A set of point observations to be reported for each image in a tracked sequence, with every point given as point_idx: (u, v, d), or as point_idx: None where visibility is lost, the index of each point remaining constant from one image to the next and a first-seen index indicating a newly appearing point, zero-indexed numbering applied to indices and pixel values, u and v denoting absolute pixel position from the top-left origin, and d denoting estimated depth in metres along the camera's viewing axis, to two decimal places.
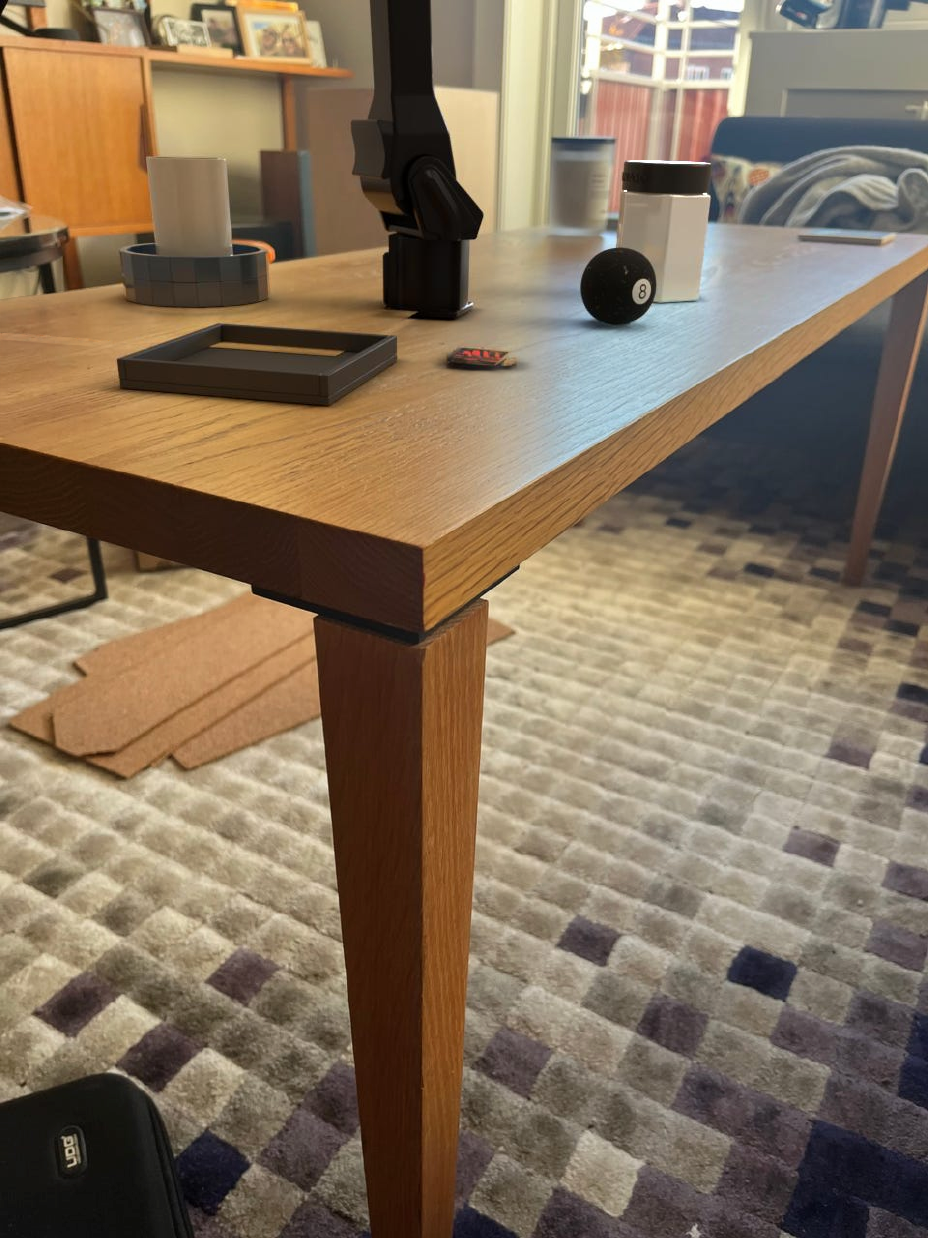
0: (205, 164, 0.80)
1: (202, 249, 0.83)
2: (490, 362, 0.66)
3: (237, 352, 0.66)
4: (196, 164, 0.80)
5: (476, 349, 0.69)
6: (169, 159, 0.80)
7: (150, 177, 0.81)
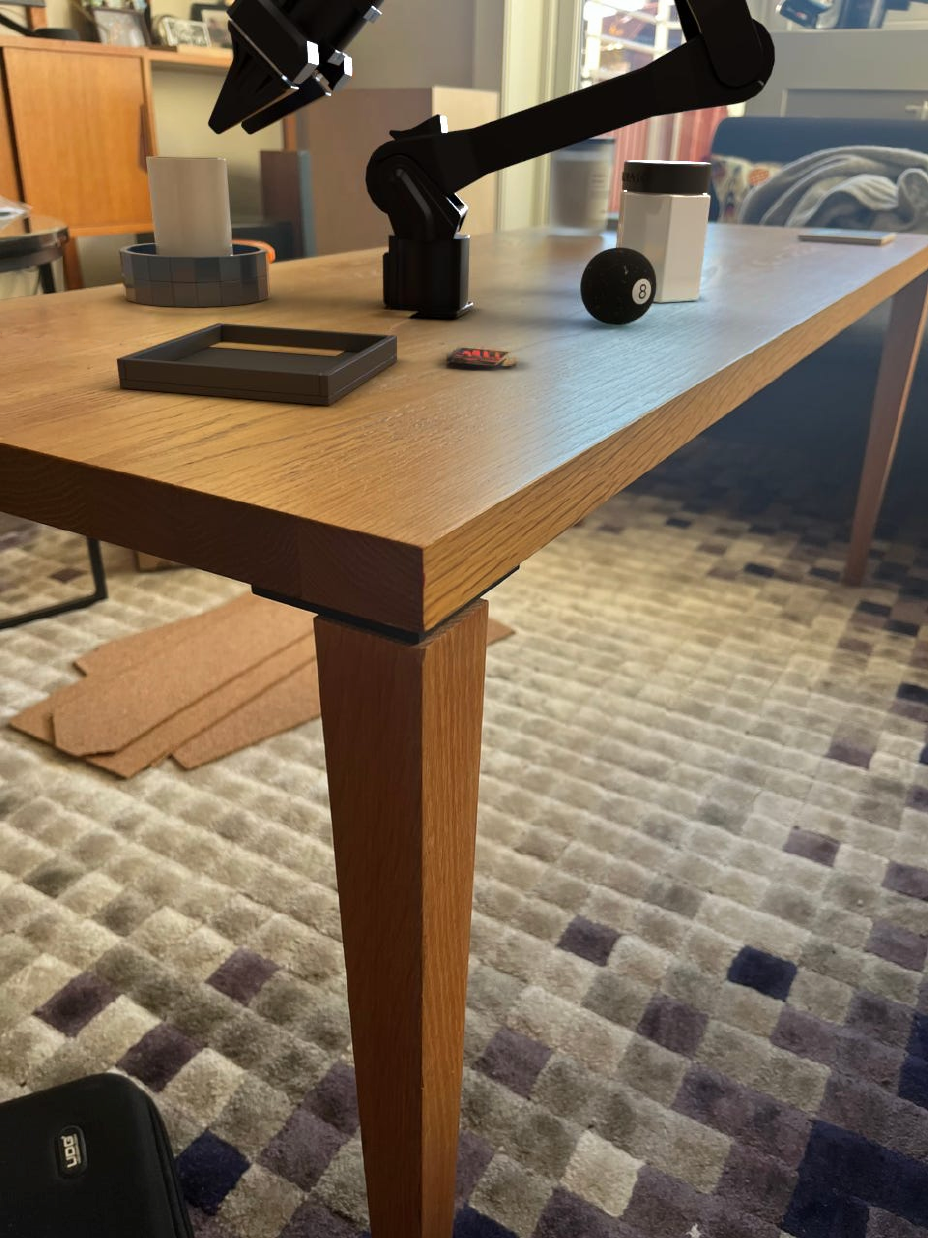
0: (205, 164, 0.80)
1: (202, 249, 0.83)
2: (490, 362, 0.66)
3: (237, 352, 0.66)
4: (196, 164, 0.80)
5: (476, 349, 0.69)
6: (169, 159, 0.80)
7: (150, 177, 0.81)
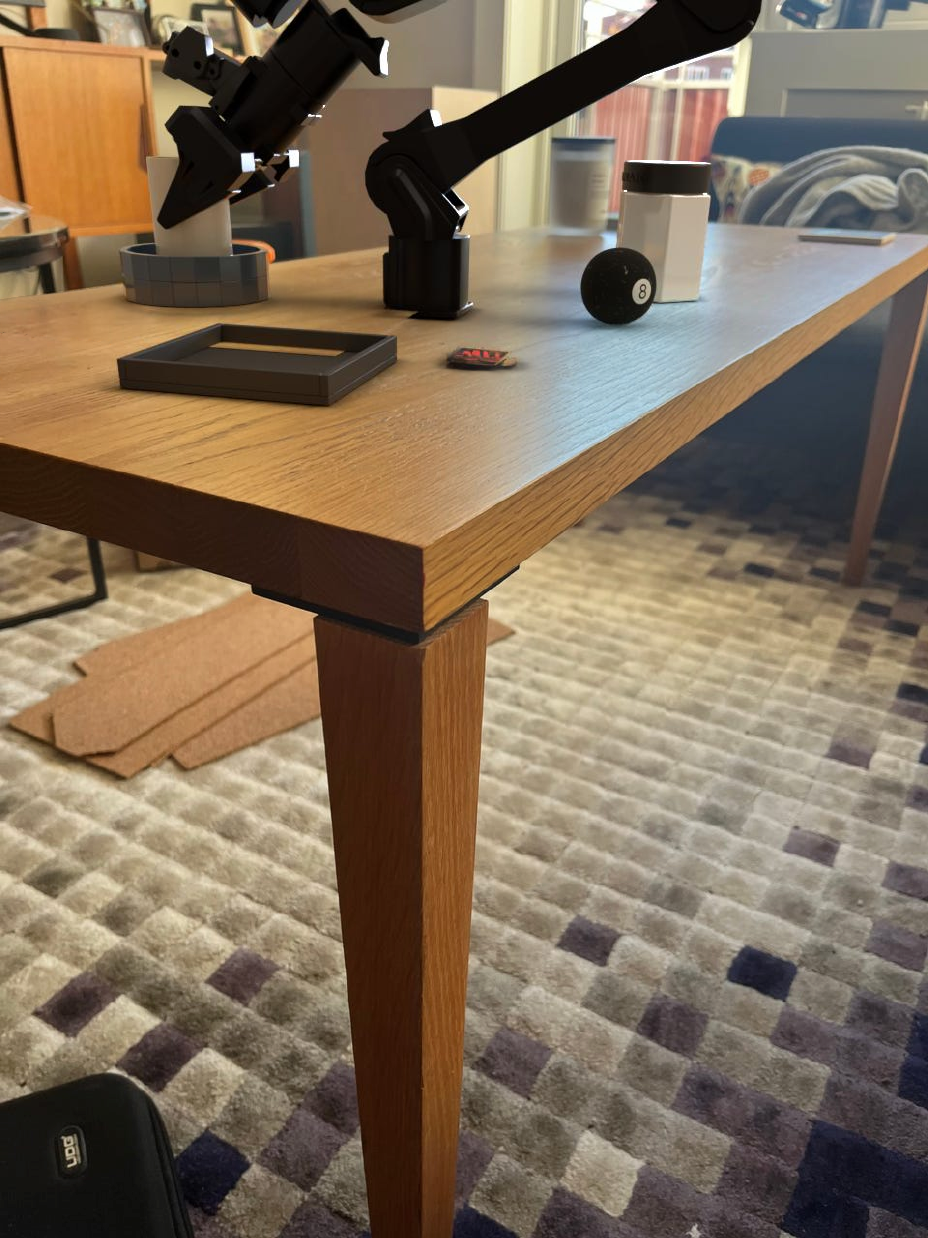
0: None
1: (202, 249, 0.83)
2: (490, 362, 0.66)
3: (237, 352, 0.66)
4: None
5: (476, 349, 0.69)
6: (169, 159, 0.80)
7: (150, 177, 0.81)
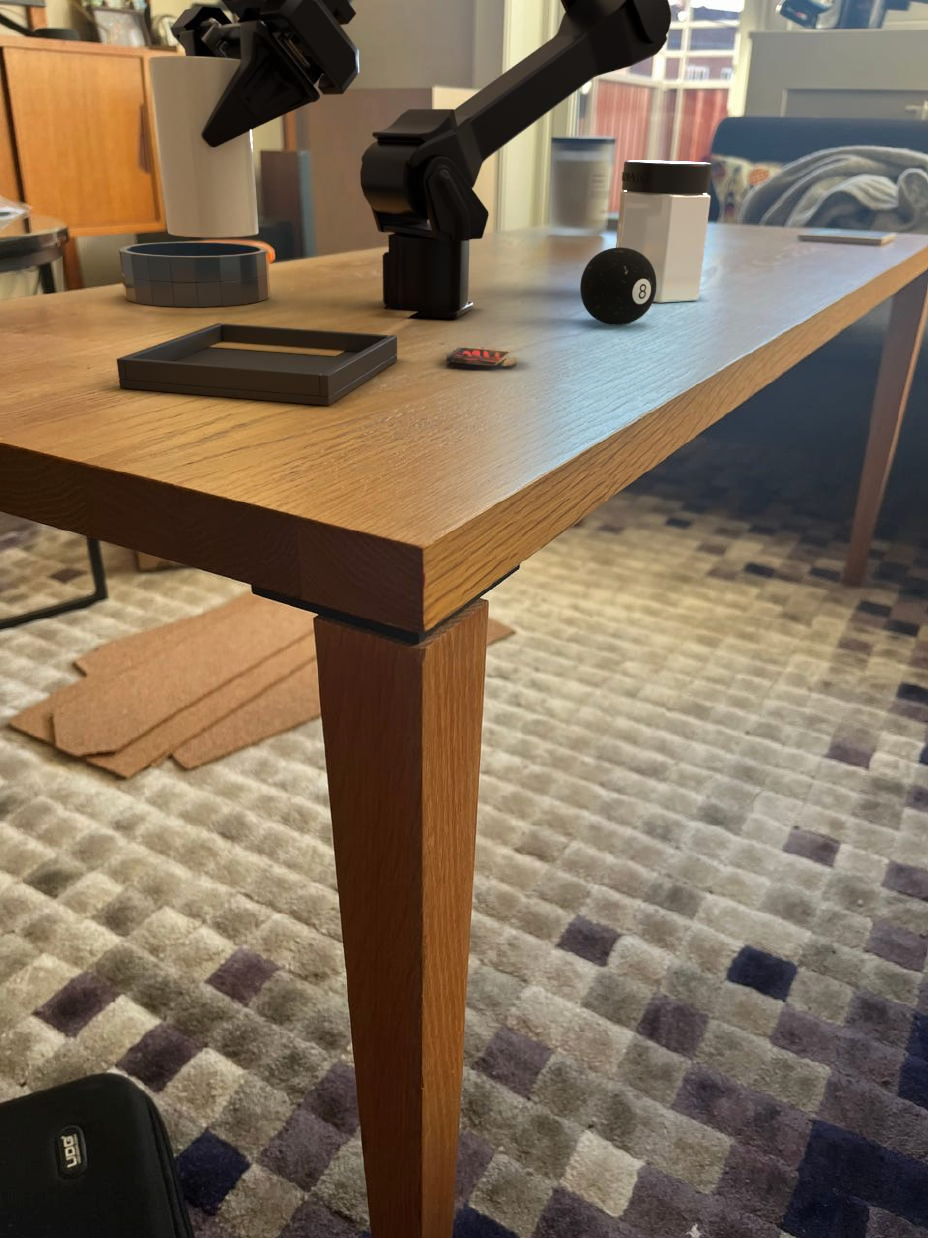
0: None
1: (246, 172, 0.69)
2: (490, 362, 0.66)
3: (237, 352, 0.66)
4: None
5: (476, 349, 0.69)
6: (214, 59, 0.65)
7: (178, 82, 0.65)
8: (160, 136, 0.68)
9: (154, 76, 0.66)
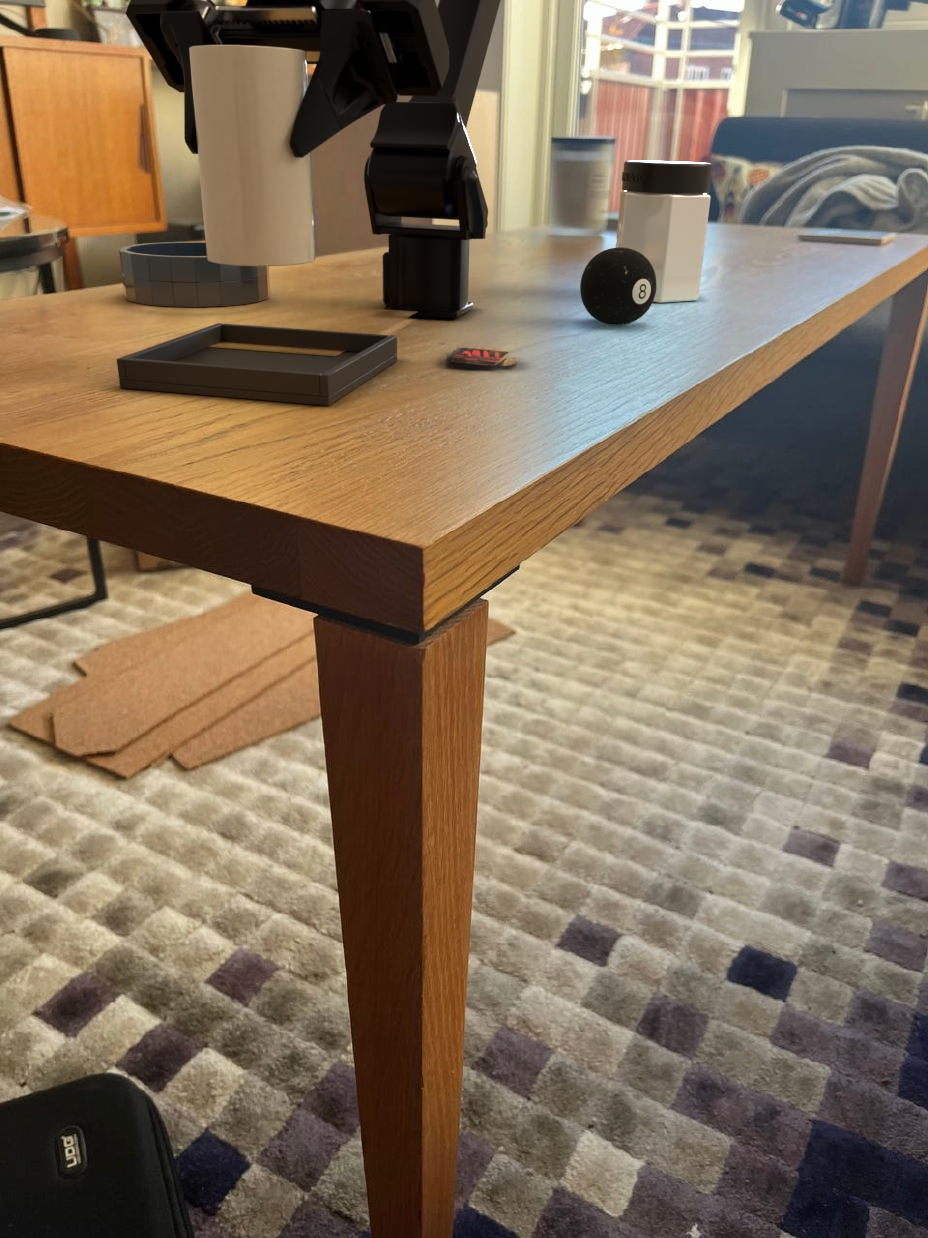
0: None
1: None
2: (490, 362, 0.66)
3: (237, 352, 0.66)
4: None
5: (476, 349, 0.69)
6: (296, 51, 0.54)
7: (260, 78, 0.53)
8: (221, 144, 0.55)
9: (216, 69, 0.53)
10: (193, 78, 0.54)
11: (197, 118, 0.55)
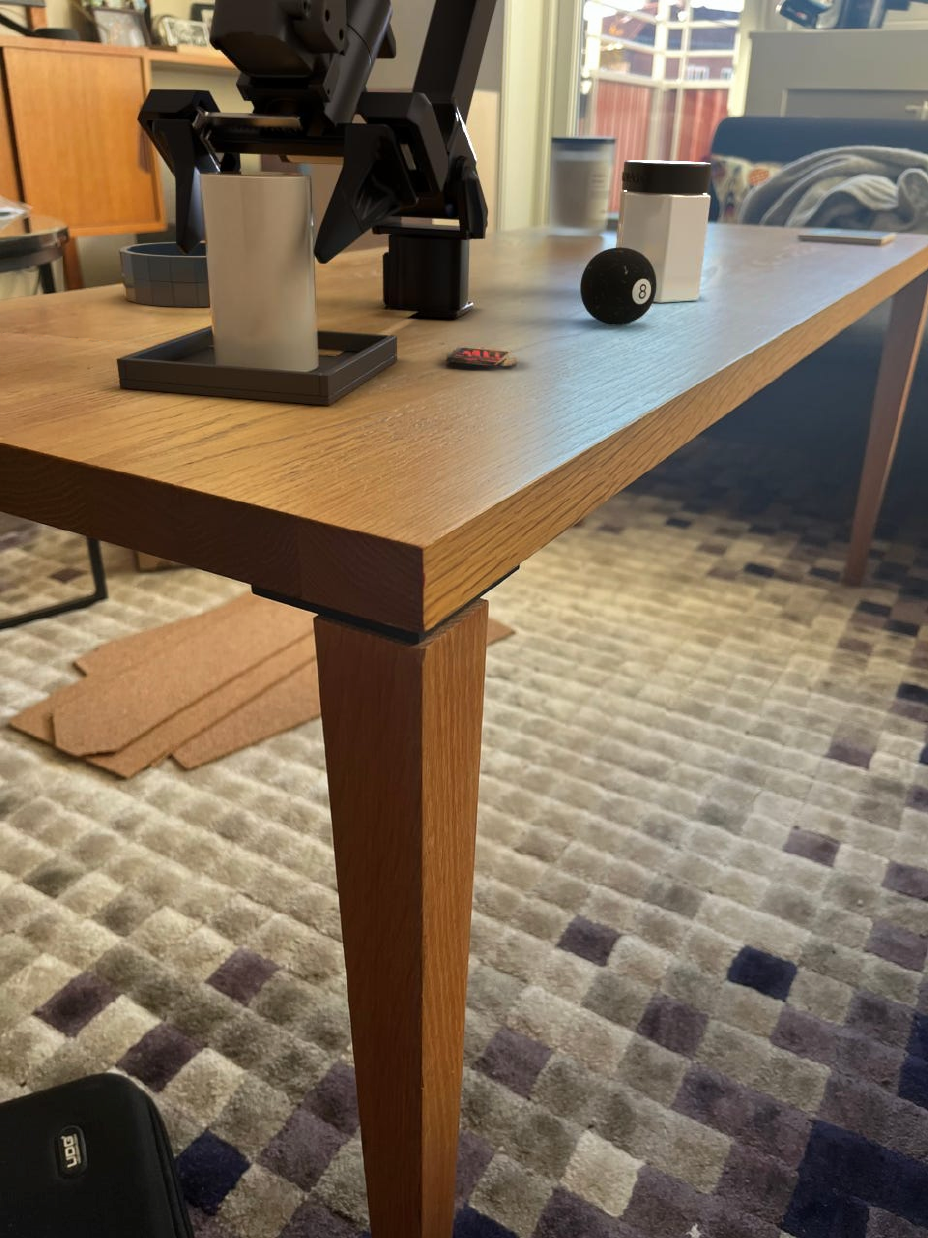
0: None
1: None
2: (490, 362, 0.66)
3: None
4: None
5: (476, 349, 0.69)
6: (302, 178, 0.57)
7: (267, 206, 0.56)
8: (230, 265, 0.57)
9: (225, 198, 0.56)
10: (203, 203, 0.57)
11: (207, 239, 0.58)
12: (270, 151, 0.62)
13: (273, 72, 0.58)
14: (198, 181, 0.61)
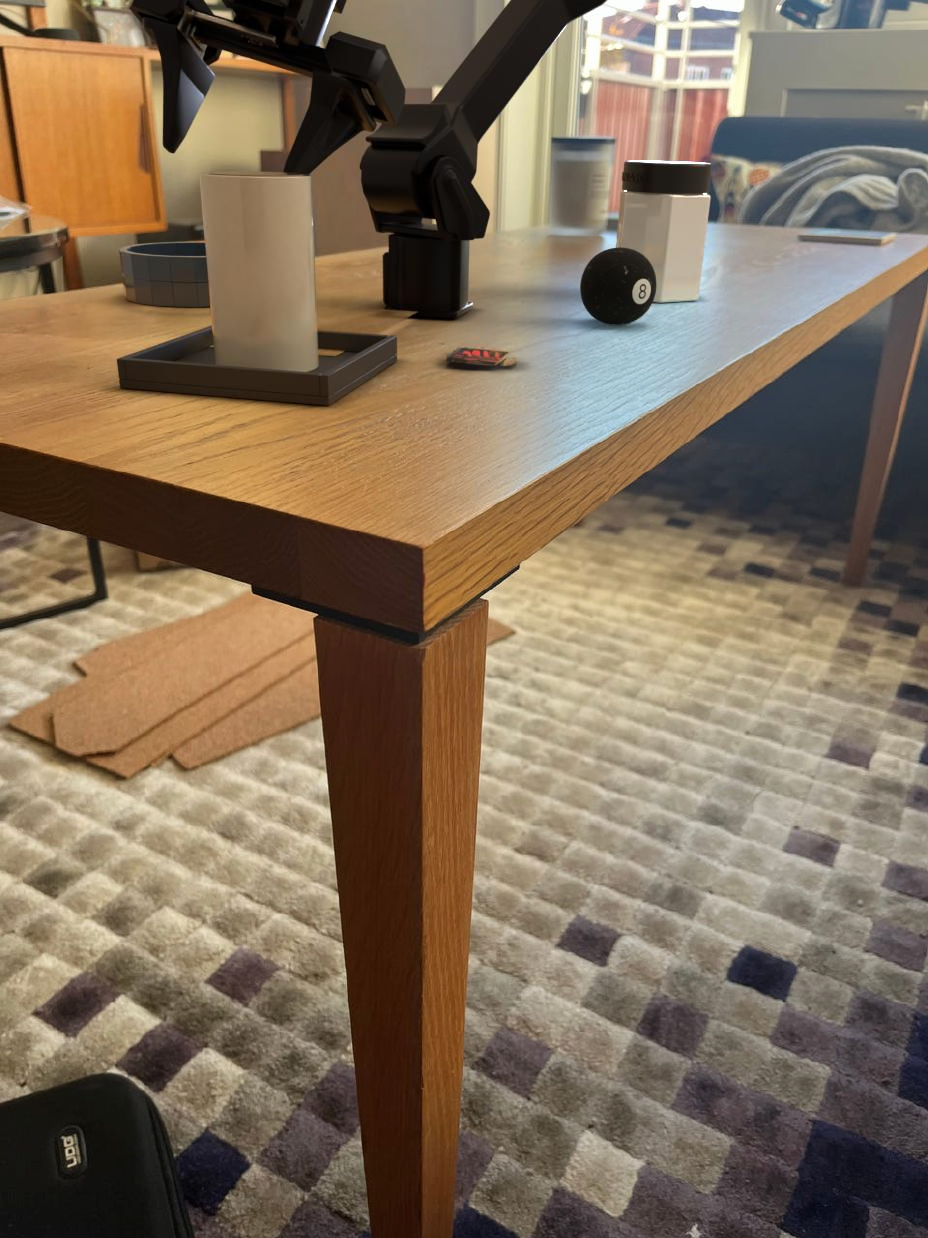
0: None
1: None
2: (490, 362, 0.66)
3: None
4: None
5: (476, 349, 0.69)
6: (302, 178, 0.57)
7: (267, 206, 0.56)
8: (230, 265, 0.57)
9: (225, 198, 0.56)
10: (203, 203, 0.57)
11: (207, 239, 0.58)
12: (249, 56, 0.69)
13: None
14: (183, 82, 0.68)
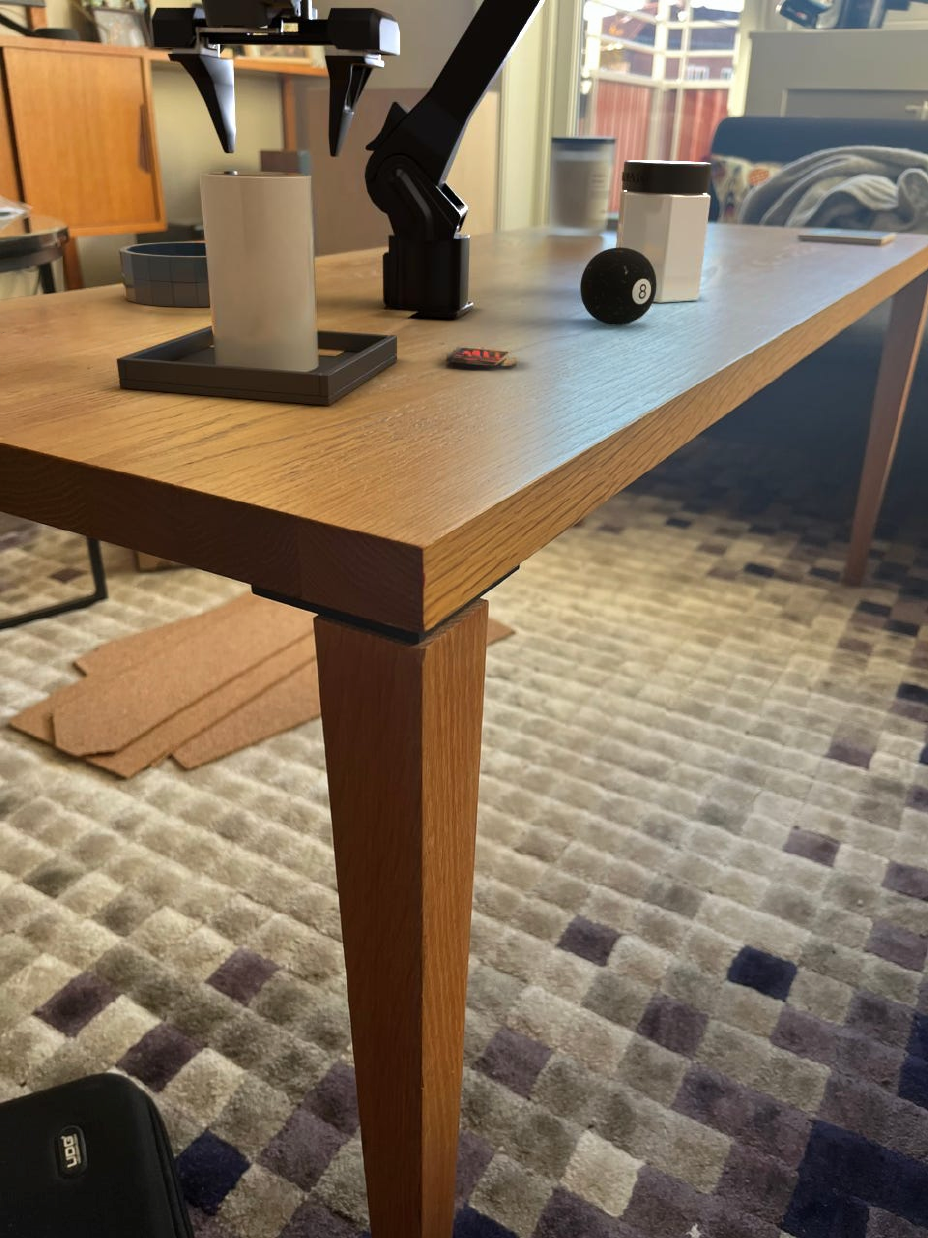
0: None
1: None
2: (490, 362, 0.66)
3: None
4: None
5: (476, 349, 0.69)
6: (302, 178, 0.57)
7: (267, 206, 0.56)
8: (230, 265, 0.57)
9: (225, 198, 0.56)
10: (203, 203, 0.57)
11: (207, 239, 0.58)
12: None
13: None
14: (218, 92, 0.80)
